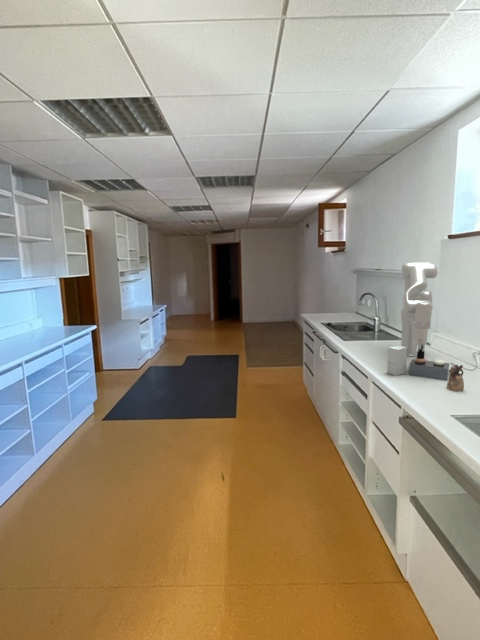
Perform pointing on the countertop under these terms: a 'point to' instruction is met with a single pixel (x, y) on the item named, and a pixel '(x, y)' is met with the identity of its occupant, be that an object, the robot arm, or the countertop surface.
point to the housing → (429, 370)
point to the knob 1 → (420, 360)
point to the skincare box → (397, 360)
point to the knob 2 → (439, 362)
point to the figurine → (455, 378)
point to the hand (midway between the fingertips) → (420, 358)
